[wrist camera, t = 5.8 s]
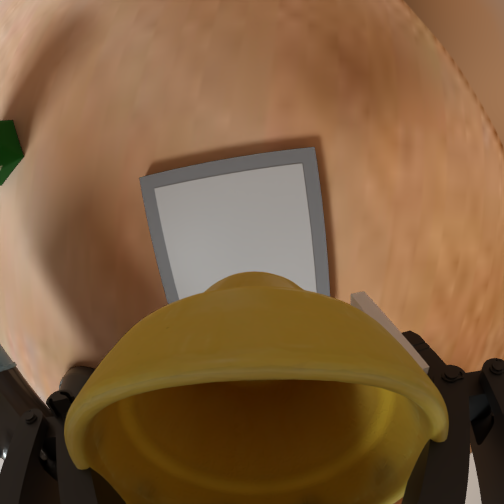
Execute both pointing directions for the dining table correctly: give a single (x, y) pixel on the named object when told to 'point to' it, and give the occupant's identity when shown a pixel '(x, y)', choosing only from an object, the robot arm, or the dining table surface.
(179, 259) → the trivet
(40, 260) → the dining table surface
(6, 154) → the milk carton
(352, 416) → the plant pot
